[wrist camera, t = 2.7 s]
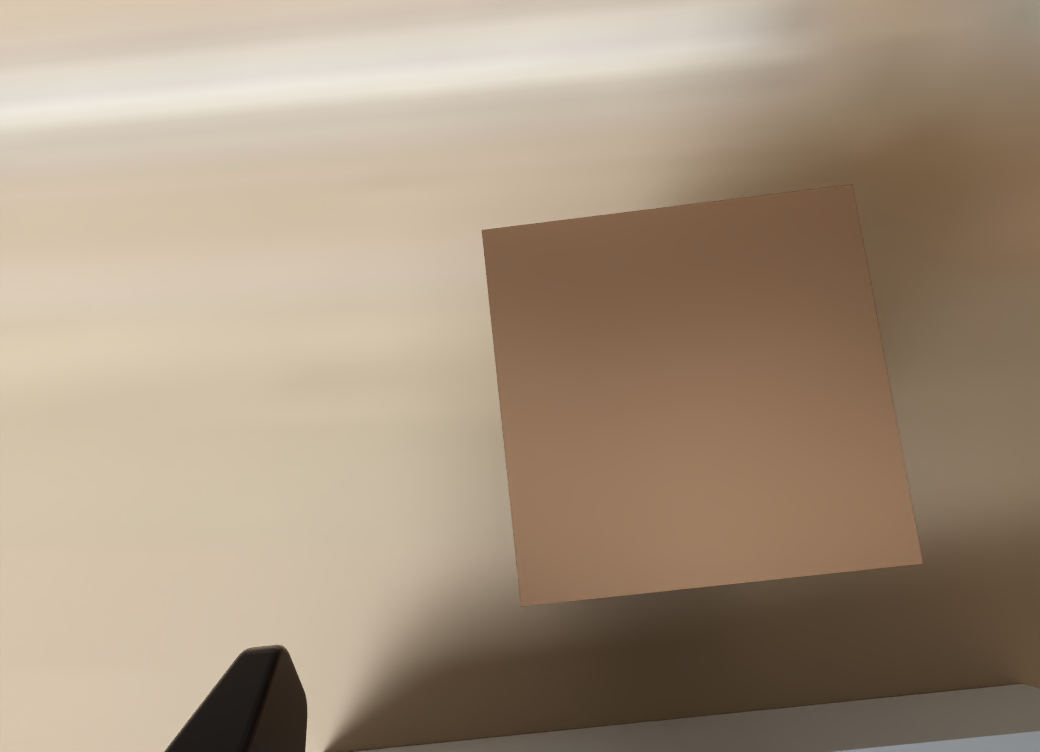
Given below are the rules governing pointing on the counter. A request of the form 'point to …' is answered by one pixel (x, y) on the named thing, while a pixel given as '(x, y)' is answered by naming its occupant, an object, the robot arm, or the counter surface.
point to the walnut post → (695, 398)
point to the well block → (809, 728)
